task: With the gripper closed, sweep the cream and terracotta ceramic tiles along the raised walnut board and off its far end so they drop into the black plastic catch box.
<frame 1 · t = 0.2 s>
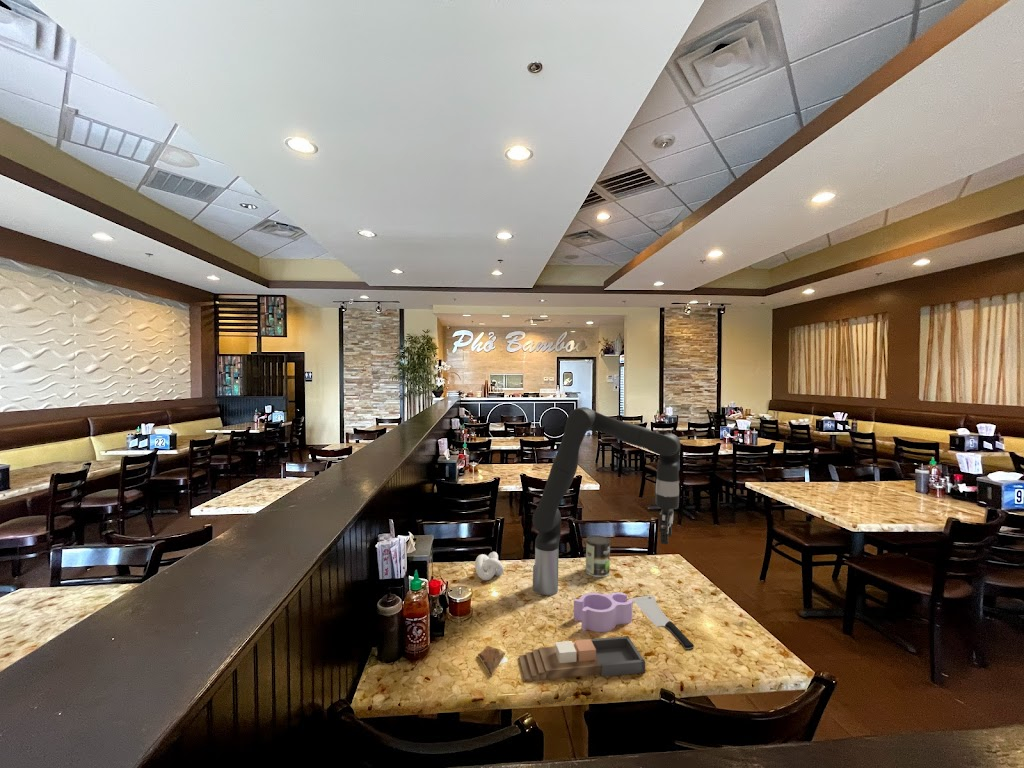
hand: (666, 539, 147), 29 cm above the table, fingers open, 8 cm apart
tile terracotta: (585, 655, 127), point 2 cm above the table, touching board
shard: (494, 663, 127), on the table
catch box: (613, 660, 128), on the table
coffee can: (597, 572, 185), on the table
tile cream: (565, 656, 126), point 2 cm above the table, touching board
clip: (603, 621, 149), on the table
brown stairs: (532, 668, 124), on the table
board: (568, 664, 126), on the table
white knot: (489, 575, 181), on the table
kitchen cleaver: (659, 623, 149), on the table
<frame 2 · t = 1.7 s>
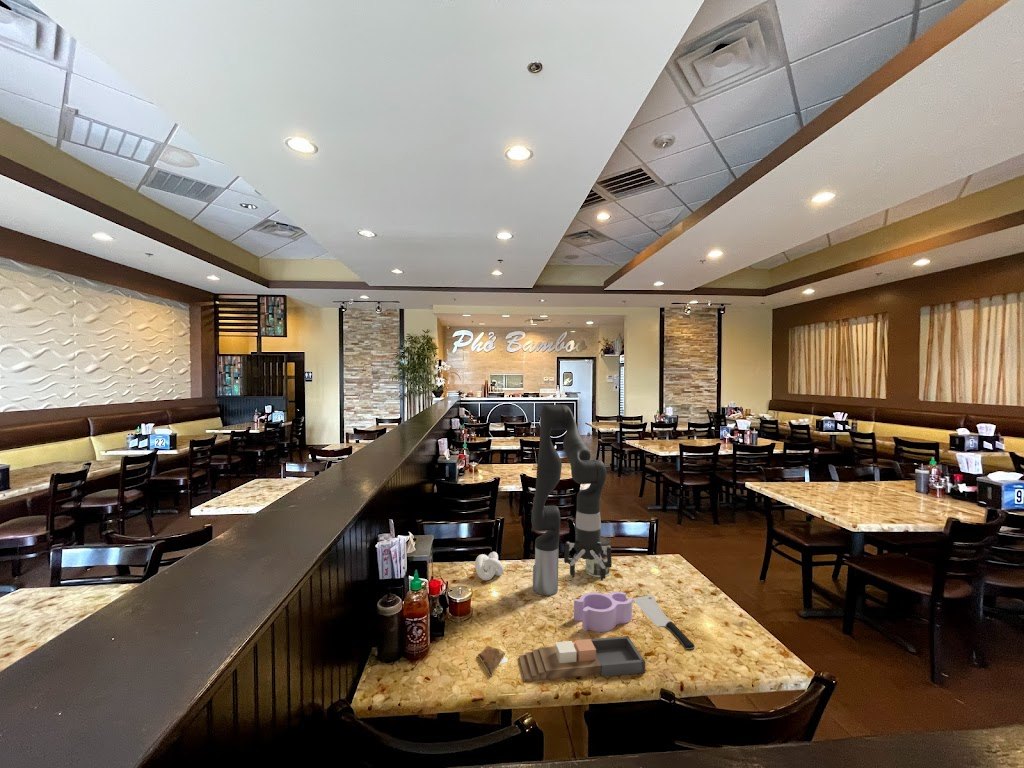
hand: (587, 578, 131), 23 cm above the table, fingers open, 8 cm apart
nothing on the table moved.
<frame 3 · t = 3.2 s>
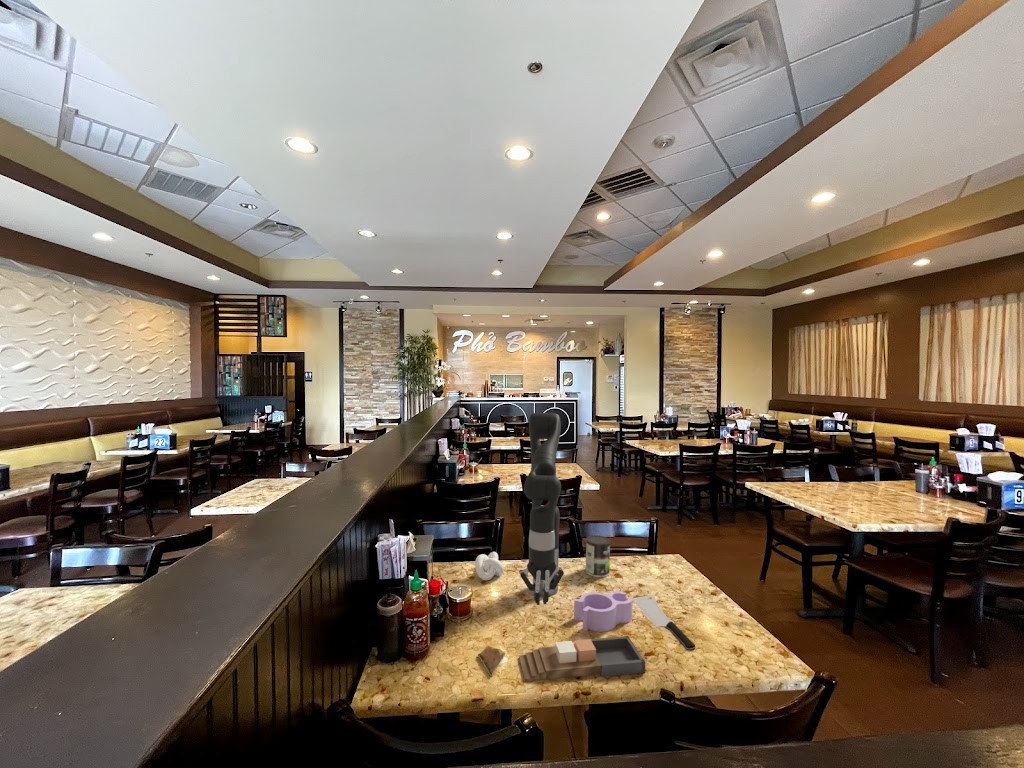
hand: (541, 603, 124), 19 cm above the table, fingers closed
nothing on the table moved.
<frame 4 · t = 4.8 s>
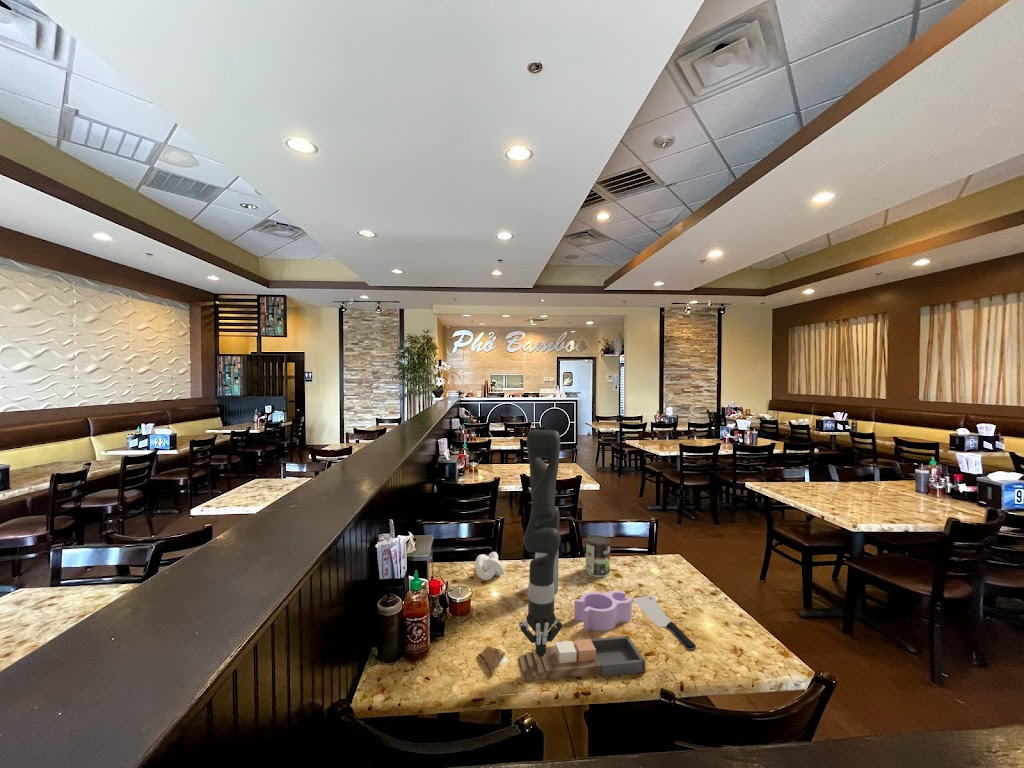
hand: (540, 654, 125), 4 cm above the table, fingers closed
nothing on the table moved.
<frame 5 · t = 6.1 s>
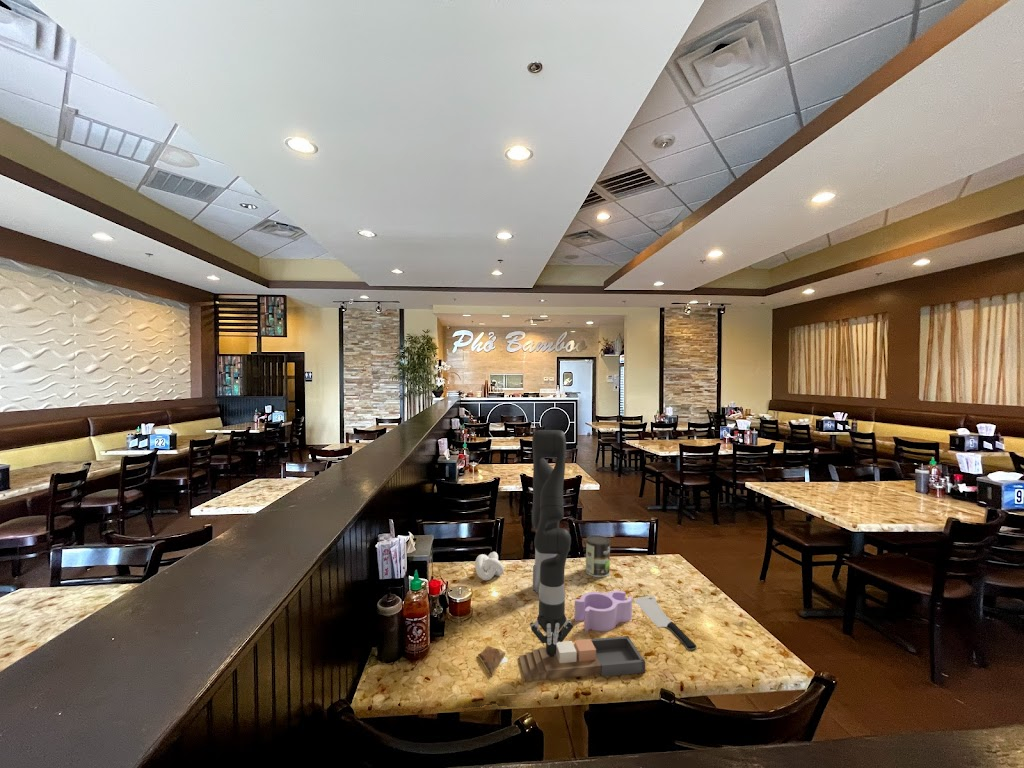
hand: (551, 654, 125), 3 cm above the table, fingers closed
tile cream: (565, 656, 126), point 3 cm above the table, touching board, gripper
everything else where it was.
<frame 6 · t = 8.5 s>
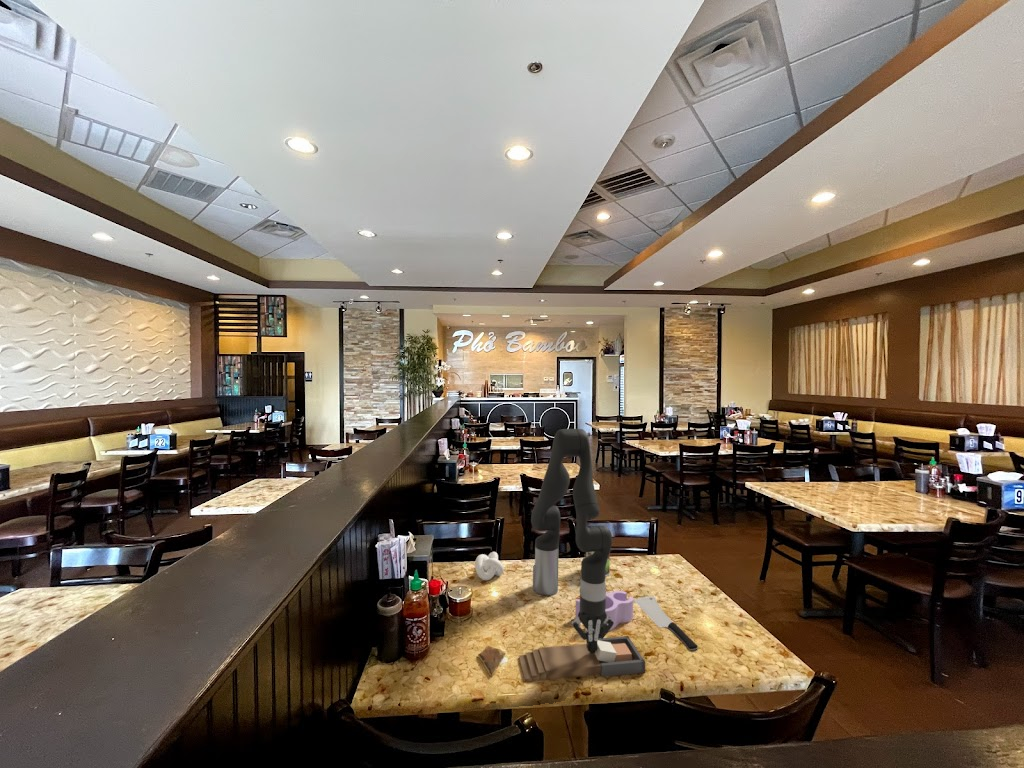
hand: (591, 651, 127), 3 cm above the table, fingers closed
tile terracotta: (620, 658, 128), resting on catch box
tile cream: (603, 656, 127), point 2 cm above the table, tilted 14°, touching gripper
everything else where it was.
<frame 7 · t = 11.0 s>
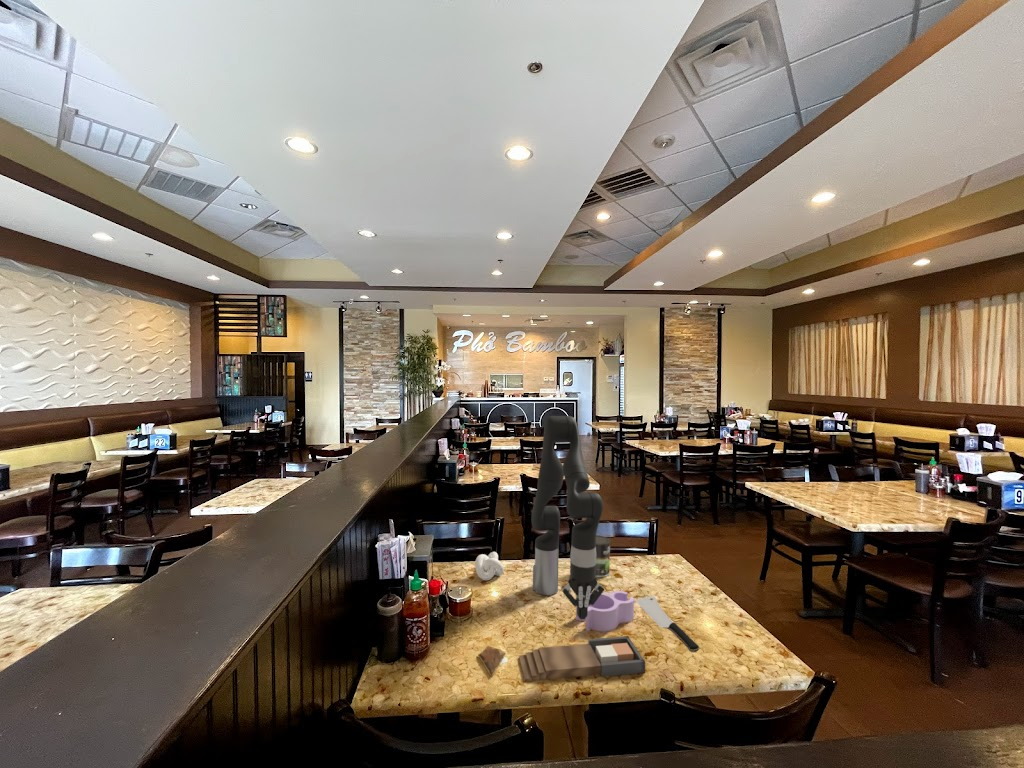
hand: (582, 617, 126), 14 cm above the table, fingers closed
tile terracotta: (622, 658, 128), resting on catch box
tile cream: (606, 660, 127), resting on catch box
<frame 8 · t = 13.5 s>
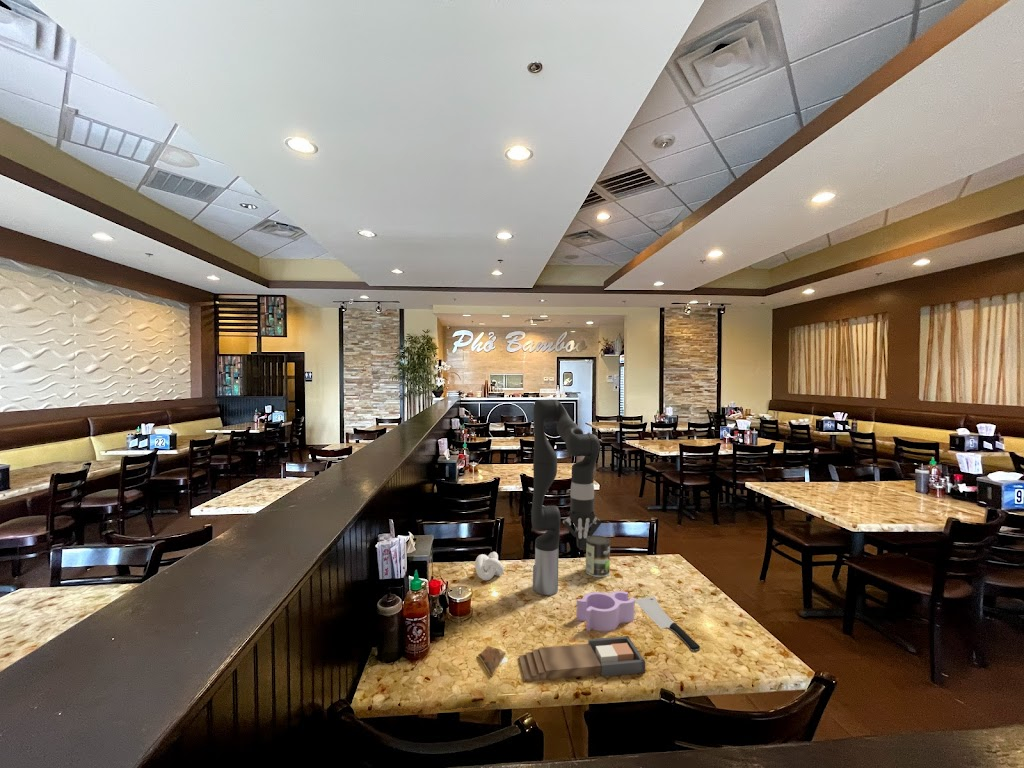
hand: (581, 548, 139), 29 cm above the table, fingers closed
at the end: tile cream 2.5 cm from the catch box (horizontally); tile terracotta 2.5 cm from the catch box (horizontally); tile cream resting on catch box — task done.
